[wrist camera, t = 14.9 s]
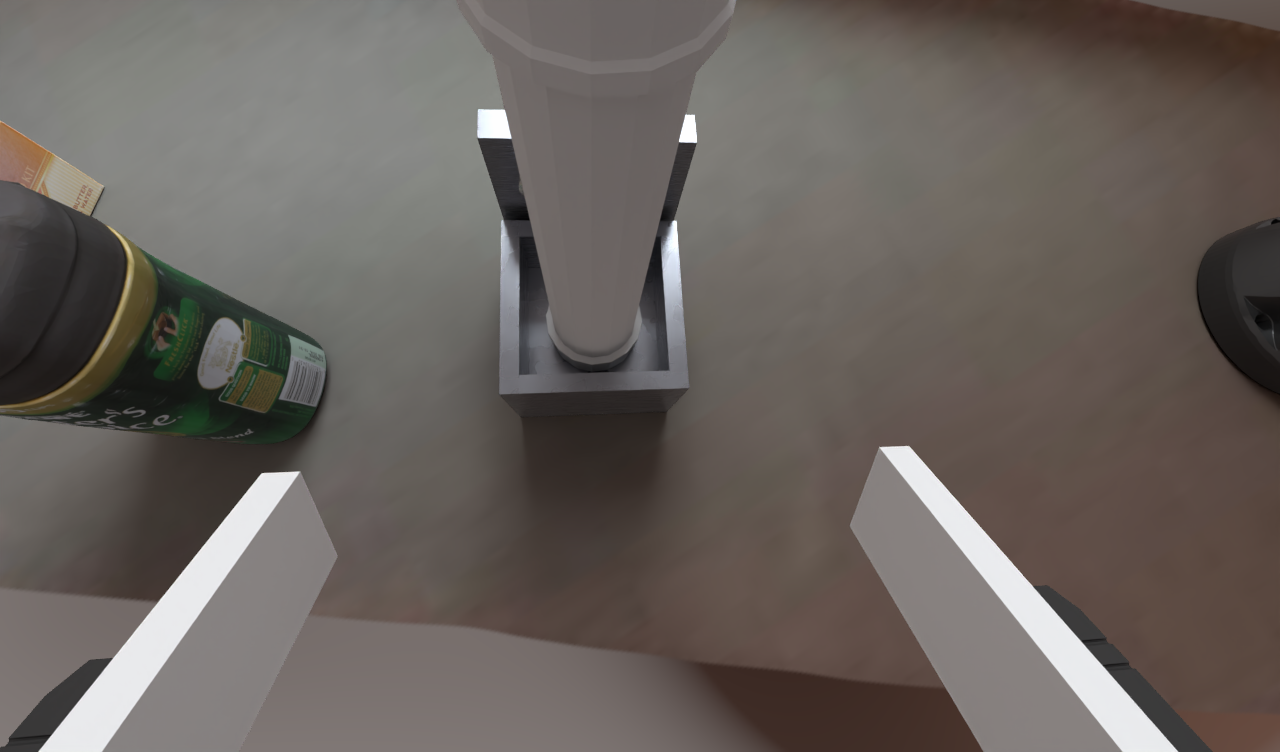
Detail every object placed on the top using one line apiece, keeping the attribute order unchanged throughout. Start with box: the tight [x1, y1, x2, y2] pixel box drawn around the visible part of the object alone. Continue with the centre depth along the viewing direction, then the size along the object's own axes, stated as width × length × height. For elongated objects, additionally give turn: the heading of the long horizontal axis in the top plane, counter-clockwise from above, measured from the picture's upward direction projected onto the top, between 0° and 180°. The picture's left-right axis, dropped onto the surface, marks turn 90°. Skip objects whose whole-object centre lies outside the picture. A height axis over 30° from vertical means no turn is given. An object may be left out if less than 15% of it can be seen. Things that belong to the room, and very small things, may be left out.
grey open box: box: [477, 109, 697, 417], centre depth 28 cm, size 12×10×14 cm
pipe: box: [457, 0, 736, 372], centre depth 16 cm, size 6×6×30 cm
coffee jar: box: [0, 180, 327, 444], centre depth 23 cm, size 10×8×19 cm
